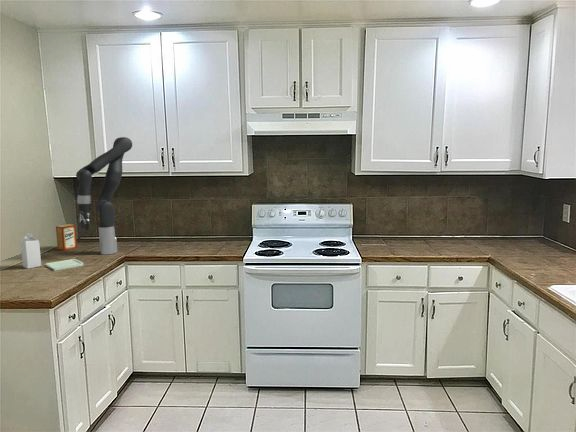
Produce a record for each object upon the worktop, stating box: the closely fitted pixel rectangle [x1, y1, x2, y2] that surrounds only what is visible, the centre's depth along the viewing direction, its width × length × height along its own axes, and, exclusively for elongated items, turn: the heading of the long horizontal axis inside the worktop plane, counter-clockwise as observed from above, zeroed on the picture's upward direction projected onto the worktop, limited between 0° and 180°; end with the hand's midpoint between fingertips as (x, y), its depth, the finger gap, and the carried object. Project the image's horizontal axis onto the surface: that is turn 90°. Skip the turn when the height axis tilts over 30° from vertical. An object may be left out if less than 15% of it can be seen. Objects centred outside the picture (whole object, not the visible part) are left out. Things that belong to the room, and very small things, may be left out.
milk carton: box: [20, 232, 42, 270], centre depth 251 cm, size 7×7×19 cm
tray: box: [45, 258, 85, 272], centre depth 254 cm, size 16×16×1 cm
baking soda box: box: [55, 223, 78, 251], centre depth 298 cm, size 10×6×16 cm
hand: (84, 229), depth 272 cm, fingers open, 8 cm apart
